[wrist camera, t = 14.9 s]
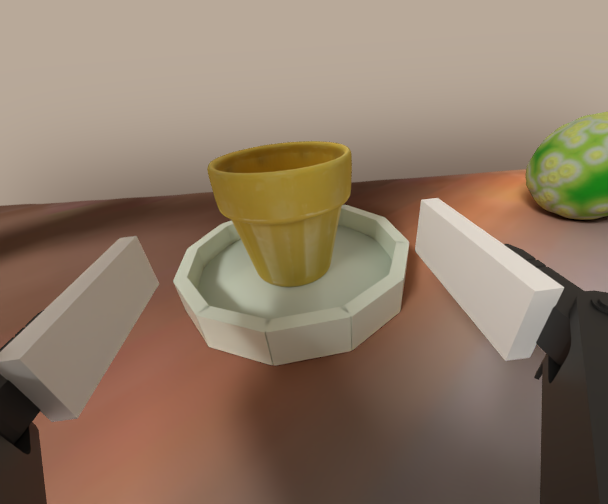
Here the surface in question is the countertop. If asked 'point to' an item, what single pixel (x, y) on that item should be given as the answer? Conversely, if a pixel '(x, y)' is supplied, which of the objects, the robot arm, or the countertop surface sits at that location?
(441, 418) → the countertop surface
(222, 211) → the plant pot
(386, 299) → the sage basin
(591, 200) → the decorative ball
